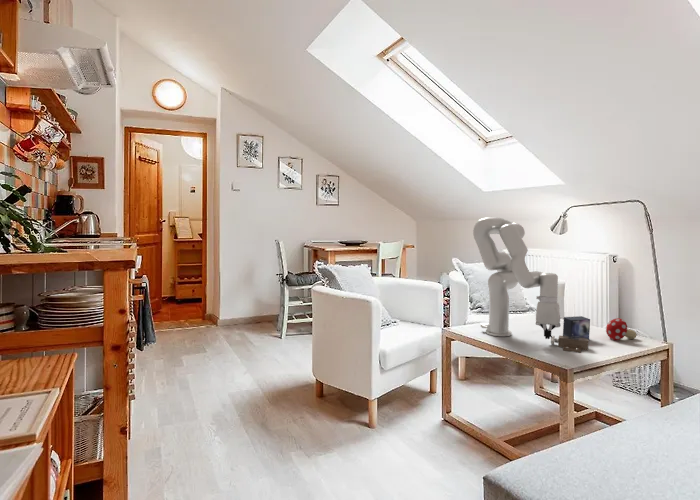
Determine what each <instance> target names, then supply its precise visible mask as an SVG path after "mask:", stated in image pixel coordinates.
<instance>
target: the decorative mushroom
mask: <svg viewBox="0 0 700 500" xmlns="http://www.w3.org/2000/svg"><path fill="white" fill-rule="evenodd" d="M605 332H606V334H607V335H606V336H607V337H609V338H610V340H613V341H620V340H622V339H623V338H627V339H629V340H633V339H636V338H637V333H636V332H635V330H633V329H629V328H628V325H627V322H626V321H625V320H624V319H623V318H619V317H617V318H613V319H610V320H609V322H608V323H607V324H606V327H605Z"/></svg>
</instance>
